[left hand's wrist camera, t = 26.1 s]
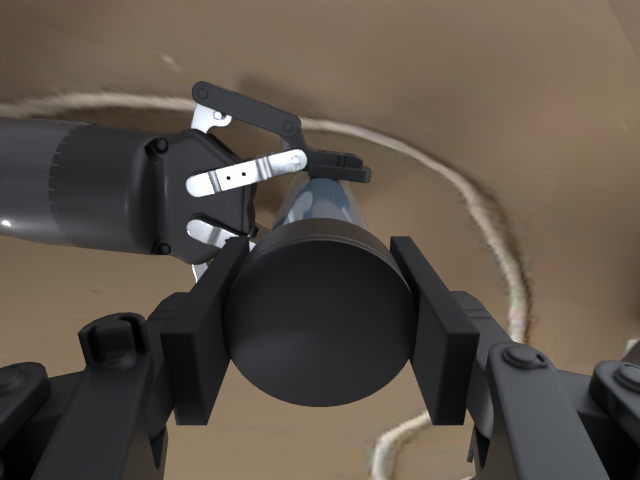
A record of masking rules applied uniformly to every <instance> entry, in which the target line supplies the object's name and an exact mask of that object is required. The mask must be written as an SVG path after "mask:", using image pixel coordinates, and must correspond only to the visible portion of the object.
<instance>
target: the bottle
mask: <svg viewBox="0 0 640 480" xmlns="http://www.w3.org/2000/svg"><path fill="white" fill-rule="evenodd" d="M308 218H332V219H339V220H343V221H346V222H350V223H352V224H355V225H357V226H360V227H361V228H363V229H365V230H367V231H368V232H370V230H369V228H368V225H367V223H366V221H365V218H364V216H363V214H362V211H361V209H360V207H359V204H358V202H357V200H356V197H355V195H354V192H353V190H352V188H351V185H350V183H349V181H344V180H336V179H328V178H319V177H310V176H308V172H304V171H297V172H296V173H295V174H294V176H293V178H292V180H291V182H290V184H289V187H288V189H287V192H286V194H285V196H284V199H283V201H282V203H281V206H280V208H279V210H278V213H277V215H276V217H275V220H274V222H273V224H272V227H271V229H270V231H269V233H270V232H271V231H273V230H275V229H277V228H279V227H280V226H283V225H285V224H288V223H290V222H293V221H297V220H301V219H308ZM370 233H371V232H370Z"/></svg>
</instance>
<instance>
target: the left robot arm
mask: <svg viewBox="0 0 640 480" xmlns="http://www.w3.org/2000/svg"><path fill="white" fill-rule="evenodd" d="M249 253H250V244H249V237H229V239H228V240H227V241H226V243H225V244H224V246H223V247H222V248H221V250H220V251H219V252H218V254H217V255H216V257H215V258H214V259H213V261H212V262H211V263H210V265H209V266H208V268H207V269H206V270H205V272H204V273H203V274H202V276H201V277H200V279H199V280H198V281H197V283H196V284H195V285H194V287H193V288H192V290H191V291H190V292H175V293H174V294H172V295H170V296H169V297H167V298H166V299H164V300H162V301H161V303H160V304H159V305H158V306H157V307H156V309H155V310H154V312H152V313H151V315H150V316H149V317H148V320H145V318H144V317H143V316H141V315H140V314H137V313H132V312H126V313H116V314H112V315H107V316H104V317H102V318H99V319H97V320H94V321H93V322H91V323H89V324H88V325H86V326H84V327H83V328H82V329H81V331H80V332H79V333H78V337H79V340H80V344H81V347H82V351H83V354H84V358H85V362H86V367H85V369H84V370H83V371H80V372H75V373H70V374H66V375H61V376H56V377H51V378H48V375H47V372H46V369H45V367H44V366H43V365H41V364H40V363H36V362H24V363H17V364H12V365H9V366H5V367H2V368H0V480H163V477H164V469H165V461H166V453H167V445H168V432H167V427H166V422H167V420H168V418H169V416H170V414H171V412H172V410H173V409H174V414H175V420H176V425H207V423H208V420H209V417H210V414H211V412H212V409H213V406H214V403H215V401H216V398H217V395H218V392H219V390H220V387H221V384H222V381H223V379H224V376H225V373H226V370H227V368H228V365H229V362H230V359H231V358H230V355H229V353H228V351H227V349H226V346H225V342H224V337H223V328H222V313H223V308H224V303H225V300H226V297H227V295H228V292H229V290H230V288H231V286H232V284H233V282H234V280H235V278H236V276H237V274H238V273H239V271H240V269H241V267H242V265H243V263H244V261H245V259H246V257H247V256H248V254H249ZM390 253H391V254H392V256H393V257H394V259H395V261H396V263H397V265H398V267H399V269H400V271H401V273H402V275H403V277H404V279H405V280H406V282H407V284H408V286H409V288H410V290H411V292H412V295H413V298H414V300H415V303H416V308H417V313H418V326H417V335H416V342H415V345H414V348H413V351H412V353H411V355H410V358H409V360H410V363H411V365H412V368H413V371H414V374H415V377H416V379H417V382H418V385H419V388H420V390H421V393H422V396H423V399H424V401H425V404H426V407H427V410H428V412H429V415H430V418H431V421H432V423H433V425H463V424H464V419H465V413H466V408H467V409H468V411H469V413H470V415H471V417H472V419H473V421H474V427H473V432H472V437H471V442H470V447H469V452H468V458H467V462H471V463H472V460H473V455H474V460H475V468H476V476H477V477H476V478H475V479H473V480H640V366H637V365H634V364H633V365H632V364H631V363H627V362H621V361H613V360H608V361H601V362H599V363H598V364H597V365H595V368H594V371H593V374H592V376H587V375H582V374H577V373H572V372H567V371H563V370H559V369H555V367H554V365H553V363H552V362H551V361H550V360H549V358H548V357H547V356H545V355H544V354H543V353H541V352H540V351H538V350H536V349H534V348H532V347H530V346H528V345H525V344H521V343H517V342H513V340H512V339H511V338H510V337H509V336H508V335H507V333H506V332H505V331H504V330H503V329H502V327H501V326H500V325H499V324H498V323H497V322H496V320H495V319H494V318H492V316H491V314H490V313H489V312H488V311H486V309H485V307H484V306H483V305H482V304H481V303H480V301H479V300H478V299H476V298H475V297H473V296H471V295H470V294H468V293H466V292H465V291H449V290H448V288H447V287H446V286H445V284H444V283H443V282H442V280H441V279H440V278H439V276H438V275H437V273H436V272H435V271H434V269H433V268H432V267H431V265H430V264H429V262H428V261H427V260H426V258H425V257H424V256H423V254H422V253H421V251H420V250H419V249H418V247H417V246H416V245H415V243H414V242H413V240H412V239H411V238H410V237H391V241H390Z"/></svg>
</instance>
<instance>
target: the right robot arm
mask: <svg viewBox="0 0 640 480" xmlns="http://www.w3.org/2000/svg"><path fill="white" fill-rule="evenodd" d="M192 96H193V98H194V100H195V101H196V106H195V111H194V115H193V120H192V124H191V128H190V129H185V130H183V131H181V132H178V133H175V134H171V133H162V132H154V131H145V130H137V129H129V128H120V127H112V126H104V125H96V124H90V123H87V122H83V121H78V120H69V121H62V120H53V119H36V118H32V119H9V118H0V235H5V236H11V237H15V238H19V239H23V240H28V241H32V242H37V243H43V244H51V245H61V246H71V247H81V248H89V249H99V250H108V251H117V252H127V253H136V254H145V255H171V256H174V257H177V258H179V259H181V260H182V261H184V262H185V263H188V264H191V265H192V266H193V270H194V273H195V277H196V281H198V280H199V279H200V277H201V276H202V274H203V273H204V272H205V270H206V269H207V268H208V266H209V265H210V263H211V262H212V261H211V259H213V258H215V257H216V255H217V254H218V252H219V251H220V250H221V248H222V247H223V246H224V244H225V243H226V241H227V240H228V239H229V237H249V244H250V251H251V250H252V249H253V247H254V246H255V245H256V244H257V243H258V242H259V241H260V240H261V239H262V238H263V237H265V236H266V235H267V234H269V231H270V230H269V229H267V228H266V227H264V226H261V225H259V224H257V223H255V210H254V206H253V199H254V196H255V193H256V189H257V182H260V181H264V180H267V179H269V178H272V177H275V176H280V175H284V174H288V173H292V172H296V171H304V172H308V176H310V177H319V178H328V179H336V180H344V181H353V182H362V183H369V182H370V178H371V172H372V170H371V169H370V168H369V167H366V166H362V164H363V160H362V159H361V158H359V157H358V156H356V155H354V154H350V153H342V152H334V151H325V150H317V149H312V148H310V147H309V146H308V145H307V144H306V143H305V140H304V137H303V132H302V128H301V121H300V119H299V118H298V117H297V116H296V115H293V114H291V113H288V112H286V111H283V110H280V109H278V108H275V107H273V106H270V105H268V104H265V103H262V102H260V101H257V100H255V99H252V98H249V97H247V96H244V95H242V94H239V93H237V92H234V91H231V90H229V89H226V88H224V87H221V86H218V85H215V84H212V83H208V82H204V81H200V82H197V83H196V84H195V85H194V86H193V88H192ZM235 118H236V119H239V120H241V121H244V122H247V123H249V124H252V125H255V126H257V127H260V128H263V129H265V130H268V131H271V132H273V133H276V134H278V135H280V137H281V141H282V145H283V149H282V150H278V151H274V152H269V153H264V154H260V155H256V156H252V157H248V158H244V159H240V158H239V157H238V156H237V155H236V154H235V153H234V152H232V151H231V150H230V149H229V148H228V147H227V146H226V145H224V144H223V143H222V142H221V141H220V140H219V139H218V138H216V137H215V136H214V135H213V134H212V133H211V130H212V129H213V128H214V127H215V126H229V125H231V124H232V123H233V122H234V120H235Z"/></svg>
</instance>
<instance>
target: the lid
mask: <svg viewBox="0 0 640 480" xmlns="http://www.w3.org/2000/svg"><path fill="white" fill-rule="evenodd" d="M417 326H418V313H417V308H416V303H415V300H414V298H413V295H412V292H411V290H410V288H409V286H408V284H407V282H406V280H405V279H404V277H403V275H402V273H401V271H400V269H399V267H398V265H397V263H396V261H395V259H394V257H393V256H392V254H391V253H390V251H389V250H388V249H387V247H386V246H385V245H384V244H383V243H382V242H381V241H380V240H379V239H378V238H377V237H375V236H374V235H373V234H371V233H370V232H368V231H367V230H365V229H363V228H361V227H360V226H357V225H355V224H352V223H350V222H346V221H343V220H339V219H332V218H308V219H301V220H297V221H293V222H290V223H288V224H285V225H283V226H280V227H279V228H277V229H275V230H273V231H271V232H270V233H269V234H267V235H266V236H265V237H263V238H262V239H261V240H260V241H259V242H258V243H257V244H256V245H255V246H254V247H253V249H252V250H251V251H250V253H249V254H248V256H247V257H246V259H245V261H244V263H243V265H242V267H241V269H240V271H239V273H238V274H237V276H236V278H235V280H234V282H233V284H232V286H231V288H230V290H229V292H228V295H227V297H226V300H225V303H224V308H223V313H222V328H223V337H224V342H225V346H226V349H227V351H228V353H229V355H230V358H231V359H232V361H233V363H234V364H235V366H236V367H237V368H238V370H239V371H240V372H241V373H242V375H243V376H244V377H245V378H246V379H247V380H248V381H250V382H251V383H252V384H253V385H254V386H256V387H257V388H258V389H260V390H262V391H263V392H265V393H267V394H268V395H270V396H273V397H275V398H277V399H279V400H282V401H285V402H288V403H292V404H297V405H301V406H310V407H330V406H339V405H343V404H348V403H352V402H355V401H358V400H361V399H363V398H365V397H367V396H370V395H371V394H373V393H375V392H377V391H378V390H380V389H381V388H383V387H384V386H385V385H387V384H388V383H389V382H390V381H391V380H392V379H394V378H395V377H396V376H397V375H398V373H399V372H400V371H401V370H402V368H403V367H404V366H405V364H406V362H407V361H408V359H409V358H410V355H411V353H412V351H413V348H414V345H415V342H416V335H417Z"/></svg>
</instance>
